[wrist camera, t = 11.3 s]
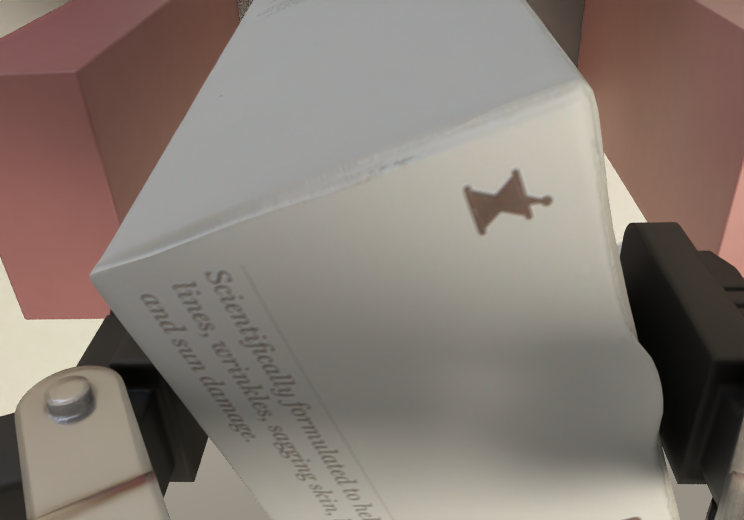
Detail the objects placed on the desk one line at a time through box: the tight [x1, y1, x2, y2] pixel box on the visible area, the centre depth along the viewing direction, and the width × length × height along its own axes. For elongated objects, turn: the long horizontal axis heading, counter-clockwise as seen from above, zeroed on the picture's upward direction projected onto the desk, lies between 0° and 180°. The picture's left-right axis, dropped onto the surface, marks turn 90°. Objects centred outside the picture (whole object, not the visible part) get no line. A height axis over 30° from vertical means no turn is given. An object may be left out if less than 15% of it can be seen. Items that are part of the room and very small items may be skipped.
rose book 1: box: [0, 0, 240, 320], centre depth 21 cm, size 6×3×14 cm, turn 2°
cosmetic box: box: [90, 0, 680, 520], centre depth 15 cm, size 8×6×15 cm
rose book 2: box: [577, 0, 744, 278], centre depth 20 cm, size 6×3×14 cm, turn 3°
